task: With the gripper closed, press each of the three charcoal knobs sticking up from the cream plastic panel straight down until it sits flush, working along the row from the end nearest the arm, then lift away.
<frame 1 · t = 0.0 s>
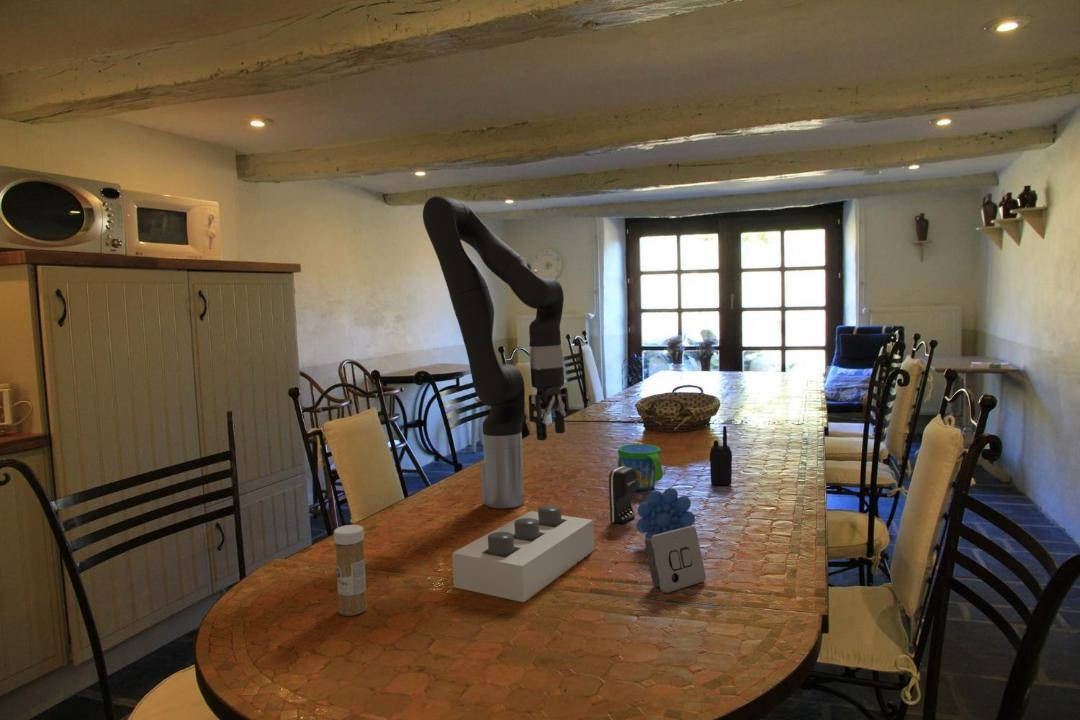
hand: (551, 436, 162), 17 cm above the table, tool pointing down, fingers open, 8 cm apart
electrical switch: (674, 584, 120), on the table
knob 2: (527, 535, 128), point 6 cm above the table, slide at 0.0 cm
battery charger: (624, 521, 154), on the table
knob 1: (550, 521, 135), point 6 cm above the table, slide at 0.0 cm
snack cup: (640, 488, 180), on the table
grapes: (667, 548, 137), on the table
two-way radio: (721, 486, 180), on the table
knob panel: (528, 567, 129), on the table
sprinkles bottle: (353, 611, 113), on the table
knob 3: (501, 550, 121), point 6 cm above the table, slide at 0.0 cm
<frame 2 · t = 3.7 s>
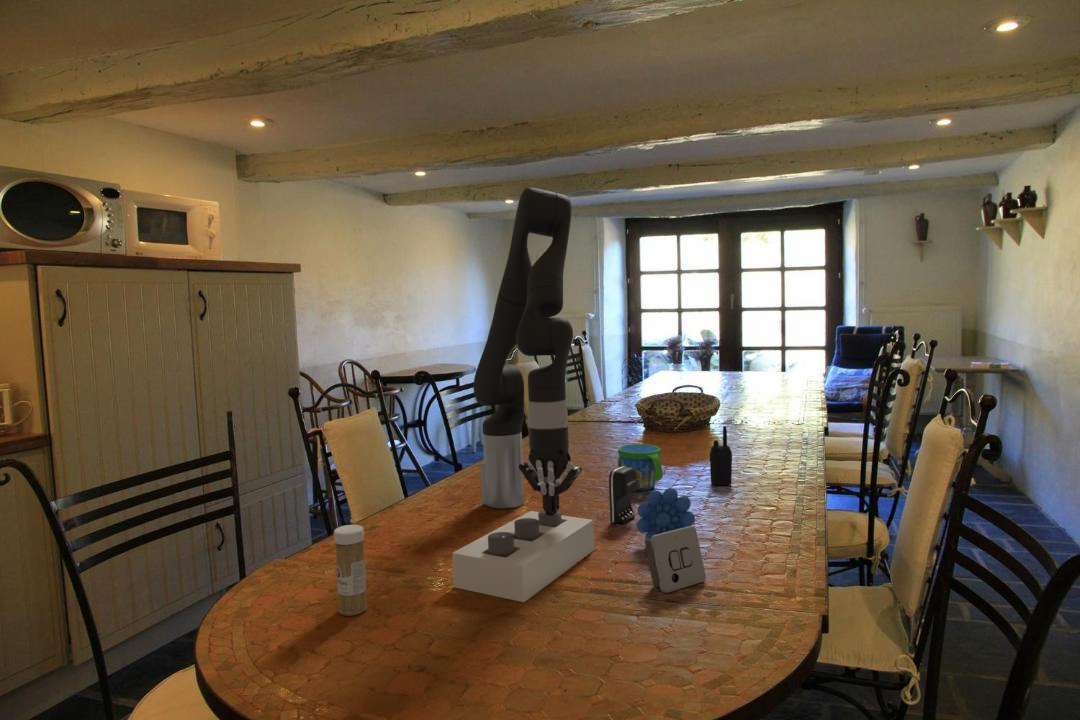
hand: (551, 513, 135), 8 cm above the table, tool pointing down, fingers closed
knob 1: (550, 526, 136), point 5 cm above the table, slide at 0.9 cm, touching gripper
everything else where it was.
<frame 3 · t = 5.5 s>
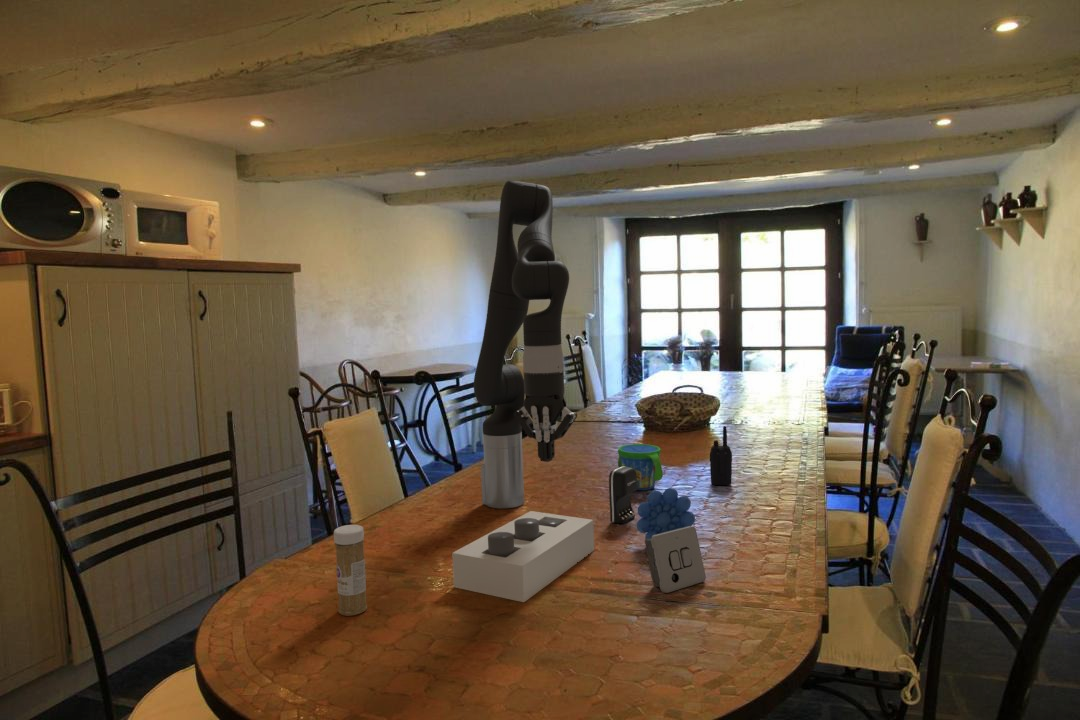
hand: (546, 460, 134), 18 cm above the table, tool pointing down, fingers closed
knob 1: (550, 535, 136), point 3 cm above the table, slide at 2.6 cm
everything else where it was.
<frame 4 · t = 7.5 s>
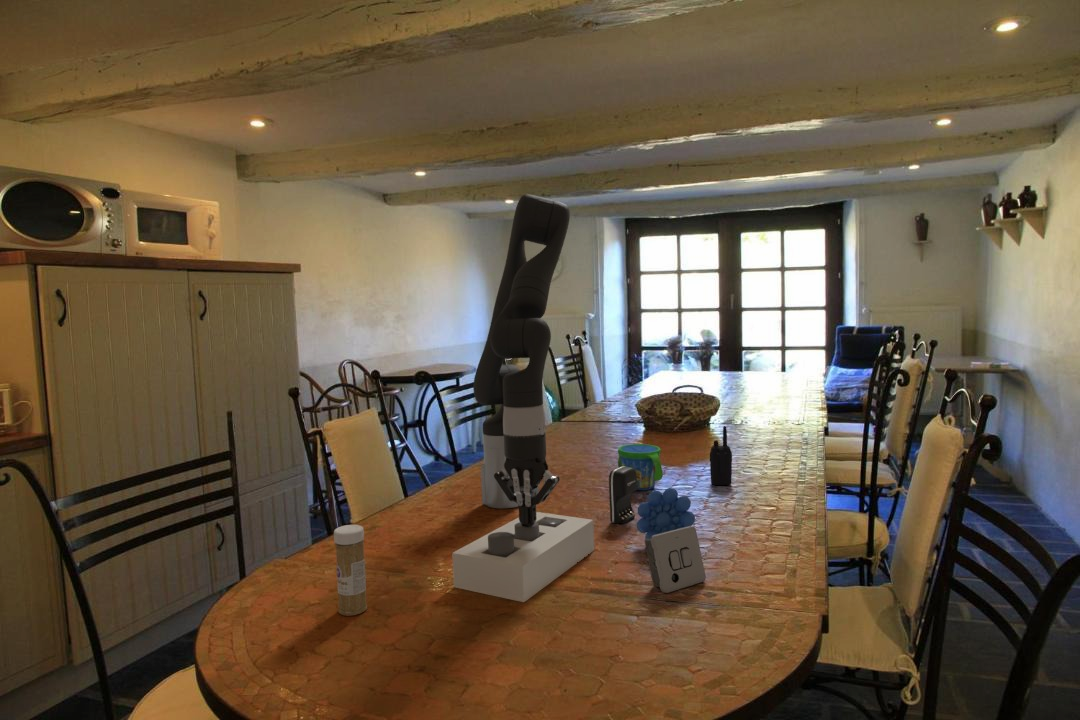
hand: (528, 525, 128), 8 cm above the table, tool pointing down, fingers closed
knob 2: (527, 538, 128), point 5 cm above the table, slide at 0.6 cm, touching gripper
everything else where it was.
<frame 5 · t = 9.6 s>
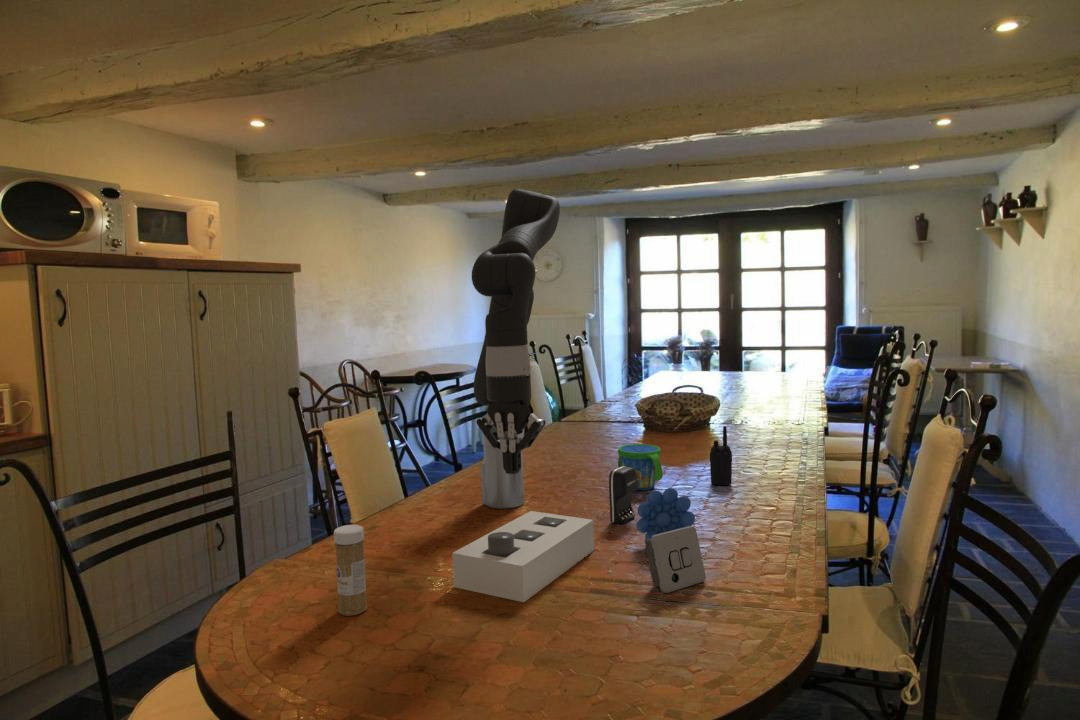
hand: (512, 473, 121), 19 cm above the table, tool pointing down, fingers closed
knob 2: (527, 549, 128), point 3 cm above the table, slide at 2.6 cm
everything else where it was.
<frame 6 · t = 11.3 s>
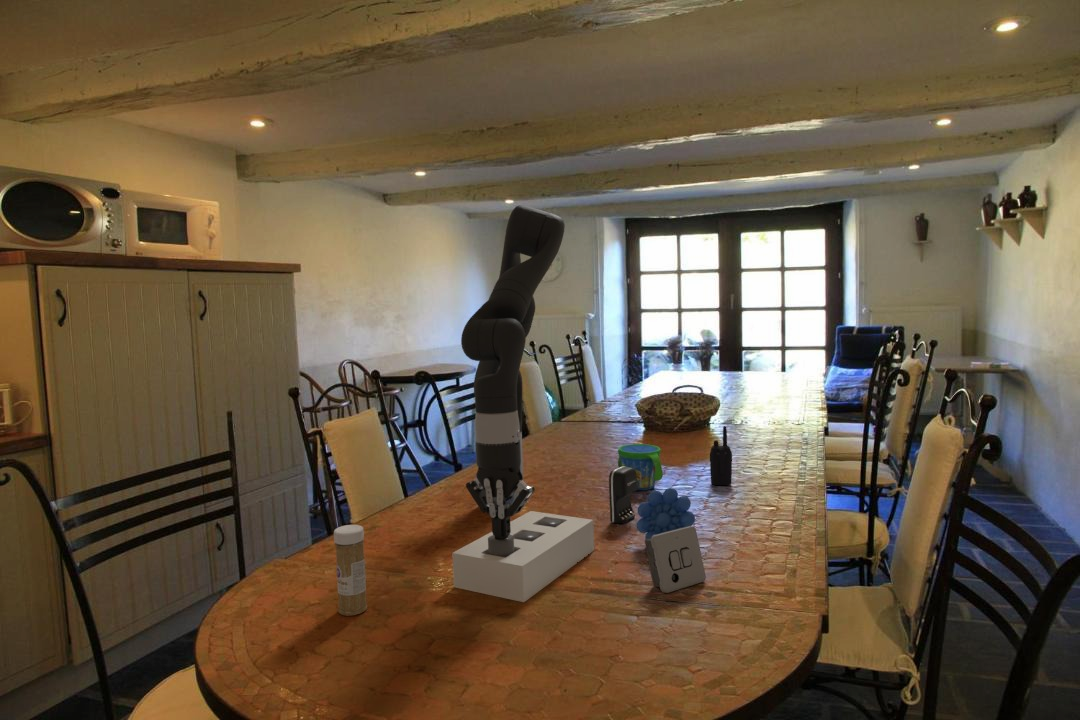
hand: (501, 538, 121), 8 cm above the table, tool pointing down, fingers closed
knob 3: (501, 552, 121), point 6 cm above the table, slide at 0.3 cm, touching gripper
everything else where it was.
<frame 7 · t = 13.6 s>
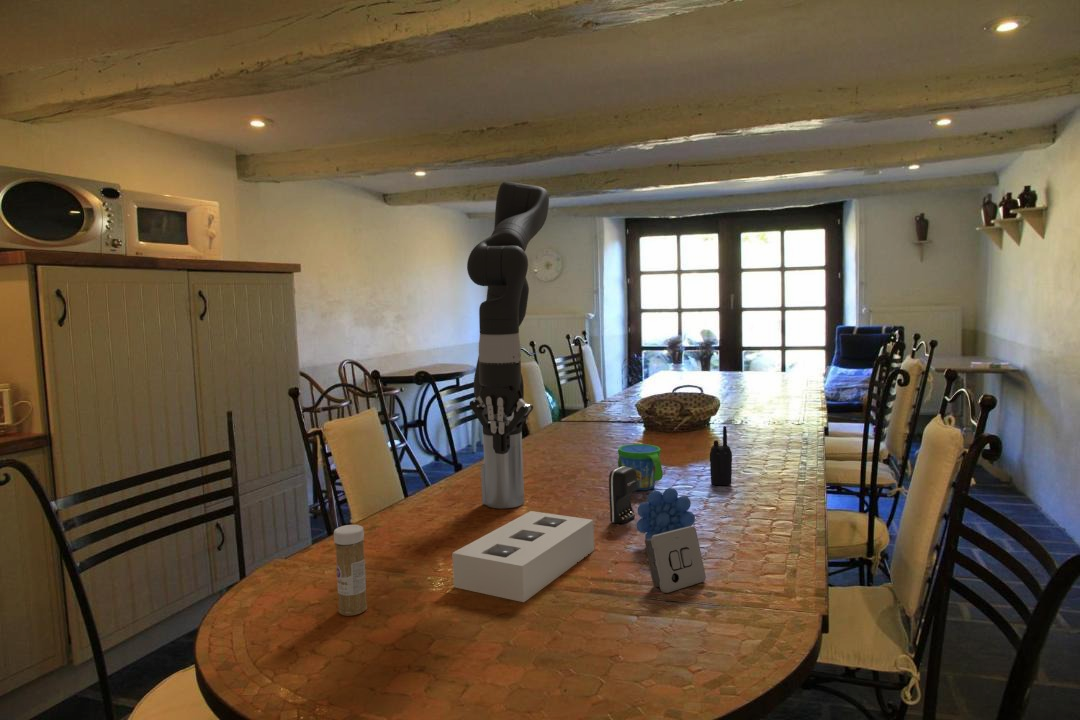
hand: (501, 452, 129), 21 cm above the table, tool pointing down, fingers closed
knob 3: (501, 565, 121), point 3 cm above the table, slide at 2.6 cm
everything else where it was.
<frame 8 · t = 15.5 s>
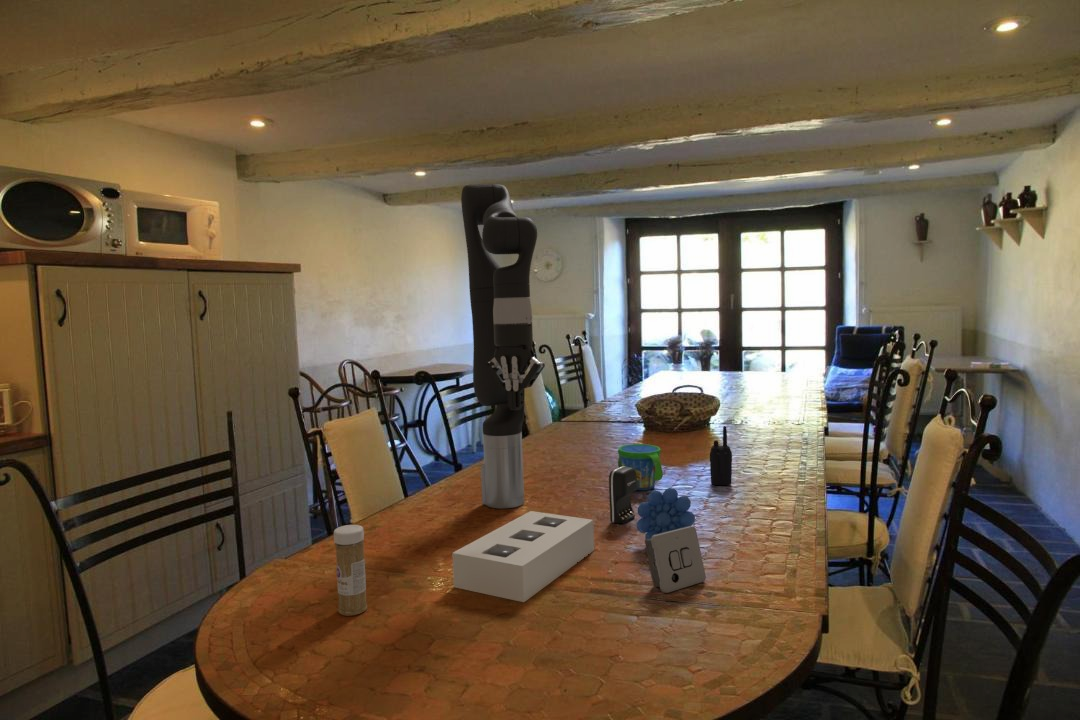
hand: (516, 409, 139), 27 cm above the table, tool pointing down, fingers closed
nothing on the table moved.
at the end: knob 1 slide at 2.6 cm; knob 2 slide at 2.6 cm; knob 3 slide at 2.6 cm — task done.
